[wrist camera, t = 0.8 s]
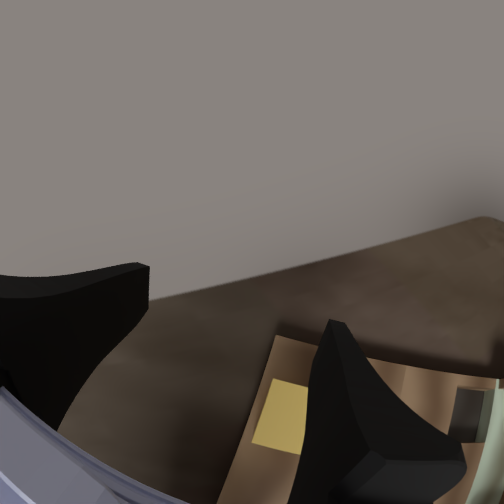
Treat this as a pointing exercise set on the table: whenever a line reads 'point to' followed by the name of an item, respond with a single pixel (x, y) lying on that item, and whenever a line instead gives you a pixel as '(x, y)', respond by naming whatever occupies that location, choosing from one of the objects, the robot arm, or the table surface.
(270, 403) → the mustard block
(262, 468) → the trap board
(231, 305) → the table surface
